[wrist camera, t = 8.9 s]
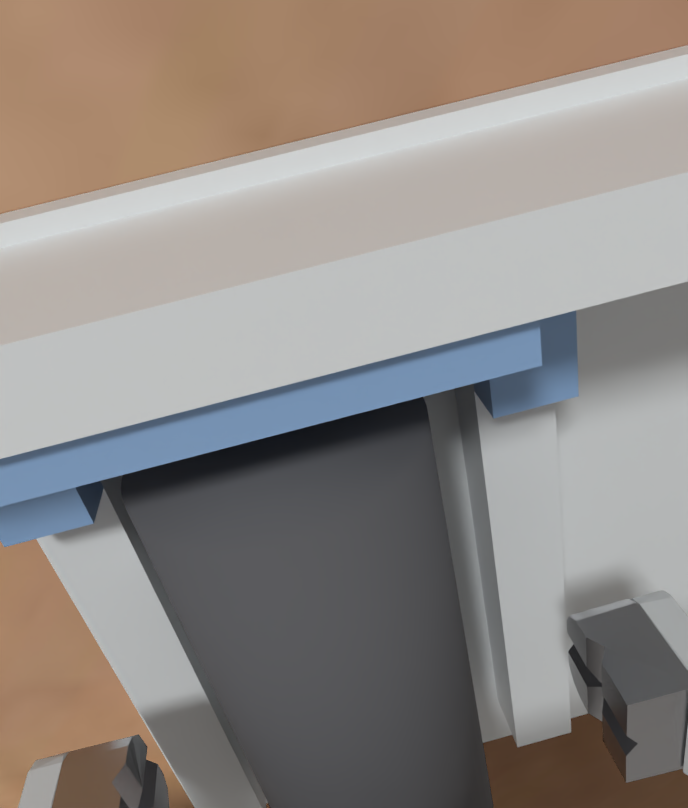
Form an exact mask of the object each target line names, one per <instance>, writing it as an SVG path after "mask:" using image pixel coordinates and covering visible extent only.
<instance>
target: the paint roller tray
mask: <svg viewBox="0 0 688 808" xmlns="http://www.w3.org/2000/svg"><path fill="white" fill-rule="evenodd" d="M420 397H423V398H424V400H425V403H426V405H427V410H428V416H429V422H430V428H431V434H432V440H433V446H434V452H435V458H436V464H437V470H438V476H439V482H440V488H441V494H442V500H443V506H444V512H445V518H446V524H447V530H448V536H449V542H450V548H451V554H452V560H453V566H454V572H455V578H456V584H457V590H458V596H459V603H460V609H461V615H462V621H463V627H464V633H465V639H466V645H467V651H468V657H469V663H470V669H471V675H472V681H473V687H474V693H475V699H476V705H477V711H478V717H479V723H480V729H481V735H482V741H483V743H484V742H488V741H492V740H495V739H499V738H502V737H506V736H509V735H513V738H514V740H515V743H516V745H517V747H521V746H524V745H528V744H532V743H535V742H539V741H542V740H546V739H549V738H553V737H557V736H560V735H564V734H567V733H571V718H574V717H578V716H581V715H585V714H588V712H587V710H586V708H585V706H584V704H583V702H582V700H581V698H580V696H579V694H578V691H577V689H576V687H575V684H574V681H573V677H572V674H571V670H570V667H569V657H568V651H569V650H570V648H571V647H572V645H573V642H572V640H571V638H570V637H569V635H568V633H567V619H568V617H569V616H570V615H573V614H577V613H580V612H583V611H587V610H590V609H594V608H597V607H601V606H604V605H608V604H611V603H615V602H618V601H621V600H625V599H632V598H636V597H639V596H643V595H646V594H650V593H653V592H657V591H661V590H664V591H665V592H667V593H669V594H670V595H671V596H672V597H673V598H674V600H675V601H676V602H677V603H678V604H679V606H680V607H681V608H682V609H683V611H684V612H685V613H686V614H687V616H688V45H686V46H682V47H678V48H674V49H670V50H666V51H662V52H658V53H654V54H650V55H646V56H641V57H637V58H633V59H629V60H625V61H621V62H617V63H613V64H609V65H605V66H601V67H597V68H593V69H589V70H585V71H580V72H576V73H572V74H568V75H564V76H560V77H556V78H552V79H548V80H544V81H540V82H536V83H532V84H528V85H524V86H519V87H515V88H511V89H507V90H503V91H499V92H495V93H491V94H487V95H483V96H479V97H475V98H471V99H467V100H463V101H458V102H454V103H450V104H446V105H442V106H438V107H434V108H430V109H426V110H422V111H418V112H414V113H410V114H406V115H402V116H398V117H393V118H389V119H385V120H381V121H377V122H373V123H369V124H365V125H361V126H357V127H353V128H349V129H345V130H341V131H337V132H332V133H328V134H324V135H320V136H316V137H312V138H308V139H304V140H300V141H296V142H292V143H288V144H284V145H280V146H276V147H271V148H267V149H263V150H259V151H255V152H251V153H247V154H243V155H239V156H235V157H231V158H227V159H223V160H219V161H215V162H210V163H206V164H202V165H198V166H194V167H190V168H186V169H182V170H178V171H174V172H170V173H166V174H162V175H158V176H154V177H149V178H145V179H141V180H137V181H133V182H129V183H125V184H121V185H117V186H113V187H109V188H105V189H101V190H97V191H93V192H89V193H84V194H80V195H76V196H72V197H68V198H64V199H60V200H56V201H52V202H48V203H44V204H40V205H36V206H32V207H28V208H23V209H19V210H15V211H11V212H7V213H3V214H0V541H1V542H2V544H3V545H4V547H6V546H10V545H14V544H18V543H22V542H25V541H29V540H33V539H37V541H38V543H39V544H40V546H41V548H42V549H43V551H44V553H45V555H46V556H47V558H48V560H49V561H50V563H51V565H52V566H53V568H54V570H55V572H56V573H57V575H58V577H59V578H60V580H61V582H62V583H63V585H64V587H65V589H66V590H67V592H68V594H69V595H70V597H71V599H72V600H73V602H74V604H75V605H76V607H77V609H78V611H79V612H80V614H81V616H82V617H83V619H84V621H85V622H86V624H87V626H88V628H89V629H90V631H91V633H92V634H93V636H94V638H95V639H96V641H97V643H98V645H99V646H100V648H101V650H102V651H103V653H104V655H105V656H106V658H107V660H108V661H109V663H110V665H111V667H112V668H113V670H114V672H115V673H116V675H117V677H118V678H119V680H120V682H121V684H122V685H123V687H124V689H125V690H126V692H127V694H128V695H129V697H130V699H131V701H132V702H133V704H134V706H135V707H136V709H137V711H138V712H139V714H140V716H141V718H142V719H143V721H144V723H145V724H146V726H147V728H148V729H149V731H150V733H151V734H152V736H153V738H154V740H155V741H156V743H157V745H158V746H159V748H160V750H161V751H162V753H163V755H164V757H165V758H166V760H167V762H168V763H169V765H170V767H171V768H172V770H173V772H174V774H175V775H176V777H177V779H178V780H179V782H180V784H181V785H182V787H183V789H184V791H185V792H186V794H187V796H188V797H189V799H190V801H191V802H192V804H193V806H194V807H195V808H266V803H268V801H267V799H266V797H265V795H264V793H263V791H262V789H261V787H260V785H259V783H258V781H257V779H256V777H255V775H254V773H253V770H252V768H251V766H250V764H249V762H248V760H247V758H246V756H245V754H244V752H243V750H242V748H241V746H240V744H239V742H238V739H237V737H236V735H235V733H234V731H233V729H232V727H231V725H230V723H229V721H228V719H227V717H226V715H225V713H224V711H223V708H222V706H221V704H220V702H219V700H218V698H217V696H216V694H215V692H214V690H213V688H212V686H211V684H210V682H209V680H208V677H207V675H206V673H205V671H204V669H203V667H202V665H201V663H200V661H199V659H198V657H197V655H196V653H195V651H194V649H193V647H192V644H191V642H190V640H189V638H188V636H187V634H186V632H185V630H184V628H183V626H182V624H181V622H180V620H179V618H178V616H177V613H176V611H175V609H174V607H173V605H172V603H171V601H170V599H169V597H168V595H167V593H166V591H165V589H164V587H163V585H162V582H161V580H160V578H159V576H158V574H157V572H156V570H155V568H154V566H153V564H152V562H151V560H150V558H149V556H148V554H147V551H146V549H145V547H144V545H143V543H142V541H141V539H140V537H139V535H138V533H137V531H136V529H135V527H134V525H133V523H132V520H131V518H130V516H129V514H128V512H127V510H126V508H125V505H124V503H123V501H122V495H121V481H122V475H124V474H128V473H132V472H136V471H140V470H144V469H147V468H151V467H155V466H159V465H163V464H167V463H170V462H174V461H178V460H182V459H186V458H190V457H194V456H197V455H201V454H205V453H209V452H213V451H217V450H220V449H224V448H228V447H232V446H236V445H240V444H243V443H247V442H251V441H255V440H259V439H263V438H266V437H270V436H274V435H278V434H282V433H286V432H289V431H293V430H297V429H301V428H305V427H309V426H313V425H316V424H320V423H324V422H328V421H332V420H336V419H339V418H343V417H347V416H351V415H355V414H359V413H362V412H366V411H370V410H374V409H378V408H382V407H385V406H389V405H393V404H397V403H401V402H405V401H408V400H412V399H416V398H420Z"/></svg>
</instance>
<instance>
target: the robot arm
mask: <svg viewBox="0 0 688 808" xmlns="http://www.w3.org/2000/svg"><path fill="white" fill-rule="evenodd" d="M567 633H568V635H569V637H570V638H571V640H572V642H573V645H572V647H571V648H570V650H569V651H568V657H569V667H570V670H571V674H572V677H573V681H574V684H575V687H576V689H577V691H578V694H579V696H580V698H581V700H582V702H583V704H584V706H585V708H586V710H587V712H588V713H589V714H591V715H592V716H594V717H595V718H597V719H599V720H600V721H602V729H603V742H604V743H605V745H606V747H607V749H608V751H609V753H610V754H611V756H612V758H613V760H614V762H615V764H616V765H617V767H618V769H619V771H620V773H621V775H622V776H623V778H624V780H625V782H626V783H627V782H631V781H635V780H639V779H643V778H647V777H651V776H655V775H659V774H663V773H667V772H671V771H675V770H679V769H683V772H684V773H685V774H686V775H688V616H687V614H686V613H685V612H684V611H683V609H682V608H681V607H680V606H679V604H678V603H677V602H676V601H675V600H674V598H673V597H672V596H671V595H670V594H669V593H667V592H665V591H664V590H661V591H657V592H653V593H650V594H646V595H643V596H639V597H636V598H632V599H625V600H621V601H618V602H615V603H611V604H608V605H604V606H601V607H597V608H594V609H590V610H587V611H583V612H580V613H577V614H573V615H570V616H569V617H568V619H567ZM146 754H147V746H146V745H145V743H144V742H143V740H142V739H141V737H140V736H139V735H135V736H131V737H127V738H123V739H119V740H115V741H111V742H106V743H102V744H98V745H94V746H90V747H86V748H82V749H78V750H74V751H70V752H66V753H62V754H58V755H55V756H51V757H47V758H43V759H40V760H36V761H35V762H34V764H33V766H32V767H31V769H30V770H29V772H28V774H27V777H26V781H25V784H24V788H23V791H22V795H21V798H20V802H19V806H18V808H169V798H168V788H167V785H166V781H165V778H164V775H163V773H162V771H161V769H160V768H159V766H158V764H156V763H153V762H151V761H148V760H146Z"/></svg>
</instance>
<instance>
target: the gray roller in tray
mask: <svg viewBox="0 0 688 808" xmlns="http://www.w3.org/2000/svg"><path fill="white" fill-rule="evenodd" d="M121 495H122V501H123V503H124V505H125V508H126V510H127V512H128V514H129V516H130V518H131V520H132V523H133V525H134V527H135V529H136V531H137V533H138V535H139V537H140V539H141V541H142V543H143V545H144V547H145V549H146V551H147V554H148V556H149V558H150V560H151V562H152V564H153V566H154V568H155V570H156V572H157V574H158V576H159V578H160V580H161V582H162V585H163V587H164V589H165V591H166V593H167V595H168V597H169V599H170V601H171V603H172V605H173V607H174V609H175V611H176V613H177V616H178V618H179V620H180V622H181V624H182V626H183V628H184V630H185V632H186V634H187V636H188V638H189V640H190V642H191V644H192V647H193V649H194V651H195V653H196V655H197V657H198V659H199V661H200V663H201V665H202V667H203V669H204V671H205V673H206V675H207V677H208V680H209V682H210V684H211V686H212V688H213V690H214V692H215V694H216V696H217V698H218V700H219V702H220V704H221V706H222V708H223V711H224V713H225V715H226V717H227V719H228V721H229V723H230V725H231V727H232V729H233V731H234V733H235V735H236V737H237V739H238V742H239V744H240V746H241V748H242V750H243V752H244V754H245V756H246V758H247V760H248V762H249V764H250V766H251V768H252V770H253V773H254V775H255V777H256V779H257V781H258V783H259V785H260V787H261V789H262V791H263V793H264V795H265V797H266V799H267V801H268V804H269V806H270V808H493V801H492V795H491V789H490V783H489V777H488V771H487V765H486V759H485V753H484V747H483V741H482V735H481V729H480V723H479V717H478V711H477V705H476V699H475V693H474V687H473V681H472V675H471V669H470V663H469V657H468V651H467V645H466V639H465V633H464V627H463V621H462V615H461V609H460V603H459V596H458V590H457V584H456V578H455V572H454V566H453V560H452V554H451V548H450V542H449V536H448V530H447V524H446V518H445V512H444V506H443V500H442V494H441V488H440V482H439V476H438V470H437V464H436V458H435V452H434V446H433V440H432V434H431V428H430V422H429V416H428V410H427V405H426V403H425V400H424V398H423V397H420V398H416V399H412V400H408V401H405V402H401V403H397V404H393V405H389V406H385V407H382V408H378V409H374V410H370V411H366V412H362V413H359V414H355V415H351V416H347V417H343V418H339V419H336V420H332V421H328V422H324V423H320V424H316V425H313V426H309V427H305V428H301V429H297V430H293V431H289V432H286V433H282V434H278V435H274V436H270V437H266V438H263V439H259V440H255V441H251V442H247V443H243V444H240V445H236V446H232V447H228V448H224V449H220V450H217V451H213V452H209V453H205V454H201V455H197V456H194V457H190V458H186V459H182V460H178V461H174V462H170V463H167V464H163V465H159V466H155V467H151V468H147V469H144V470H140V471H136V472H132V473H128V474H124V475H122V481H121Z"/></svg>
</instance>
